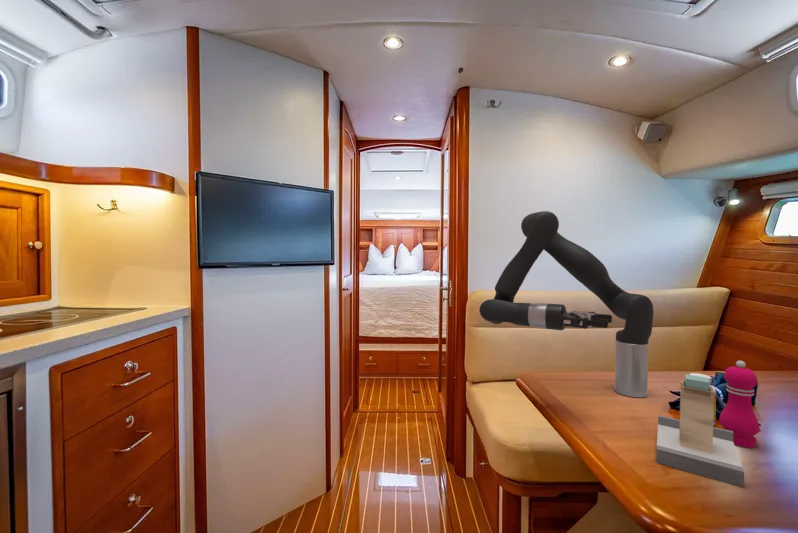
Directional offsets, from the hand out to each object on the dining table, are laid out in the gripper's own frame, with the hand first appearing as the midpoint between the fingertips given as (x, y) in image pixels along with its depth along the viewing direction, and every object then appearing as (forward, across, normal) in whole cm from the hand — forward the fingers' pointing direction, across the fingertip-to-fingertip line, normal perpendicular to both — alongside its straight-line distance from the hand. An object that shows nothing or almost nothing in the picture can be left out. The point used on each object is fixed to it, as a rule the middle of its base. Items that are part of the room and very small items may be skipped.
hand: (609, 321), depth 97 cm
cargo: (+18, -8, +13) cm, 23 cm away
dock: (+18, -8, +28) cm, 34 cm away
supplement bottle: (+20, +16, +29) cm, 38 cm away
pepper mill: (+27, +8, +29) cm, 40 cm away
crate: (+18, -8, +25) cm, 32 cm away
